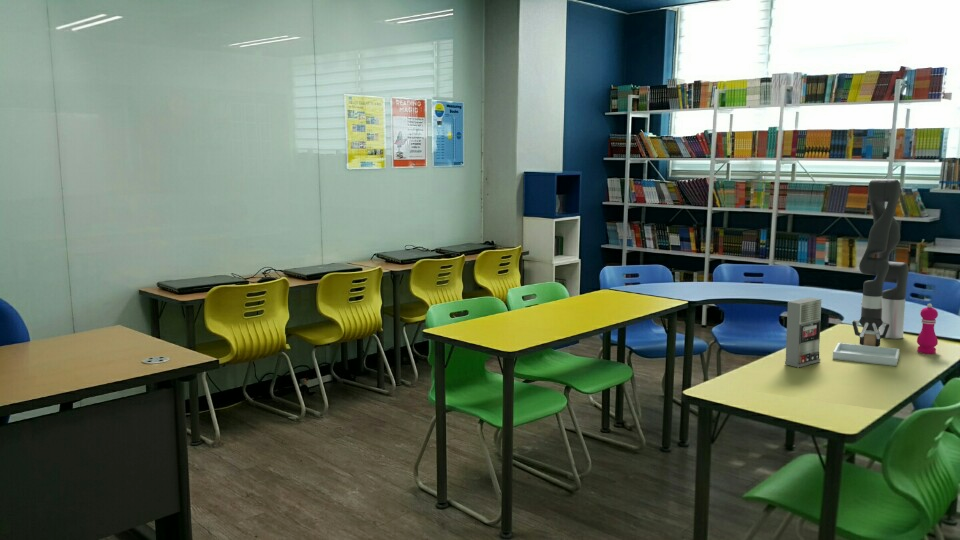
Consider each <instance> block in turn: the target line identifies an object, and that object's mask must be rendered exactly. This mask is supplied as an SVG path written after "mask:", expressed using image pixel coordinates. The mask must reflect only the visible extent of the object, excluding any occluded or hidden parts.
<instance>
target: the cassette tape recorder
mask: <svg viewBox="0 0 960 540" xmlns="http://www.w3.org/2000/svg"><path fill="white" fill-rule="evenodd" d="M786 312H787V315H786V316H787V317H786V336H785V337H786V341H785V343H786V344H785V361H784V365H787V366H791V367H795V368H798V369H799V367H800V368H803V367H806V366H809V365H813V364H816V363H821V358H820V339H821V338H820V337H821V317H822V315H821V314H822V299H820V298H814V297H805V298H800V299H795V300H790V301H787V311H786Z"/></svg>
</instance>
